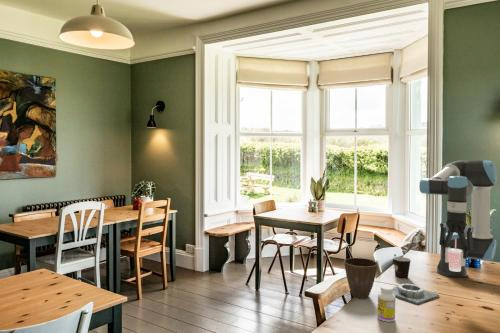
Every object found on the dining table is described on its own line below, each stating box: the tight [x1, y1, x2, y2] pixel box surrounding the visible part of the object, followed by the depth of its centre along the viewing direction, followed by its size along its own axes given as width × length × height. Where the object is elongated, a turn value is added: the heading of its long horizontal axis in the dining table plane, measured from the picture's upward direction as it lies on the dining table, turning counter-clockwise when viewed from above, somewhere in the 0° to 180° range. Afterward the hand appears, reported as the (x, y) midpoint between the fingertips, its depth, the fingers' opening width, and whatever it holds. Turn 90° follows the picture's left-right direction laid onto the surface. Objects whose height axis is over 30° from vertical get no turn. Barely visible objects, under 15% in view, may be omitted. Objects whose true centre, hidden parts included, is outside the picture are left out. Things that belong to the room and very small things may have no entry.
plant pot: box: [343, 257, 378, 299], centre depth 181 cm, size 15×15×16 cm
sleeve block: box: [393, 283, 440, 306], centre depth 184 cm, size 18×18×4 cm
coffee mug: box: [392, 256, 411, 280], centre depth 213 cm, size 12×9×10 cm
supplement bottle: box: [377, 285, 396, 323], centre depth 156 cm, size 7×7×13 cm
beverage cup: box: [448, 239, 462, 272], centre depth 171 cm, size 6×6×14 cm
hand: (455, 263), depth 171 cm, fingers closed on beverage cup, 6 cm apart
